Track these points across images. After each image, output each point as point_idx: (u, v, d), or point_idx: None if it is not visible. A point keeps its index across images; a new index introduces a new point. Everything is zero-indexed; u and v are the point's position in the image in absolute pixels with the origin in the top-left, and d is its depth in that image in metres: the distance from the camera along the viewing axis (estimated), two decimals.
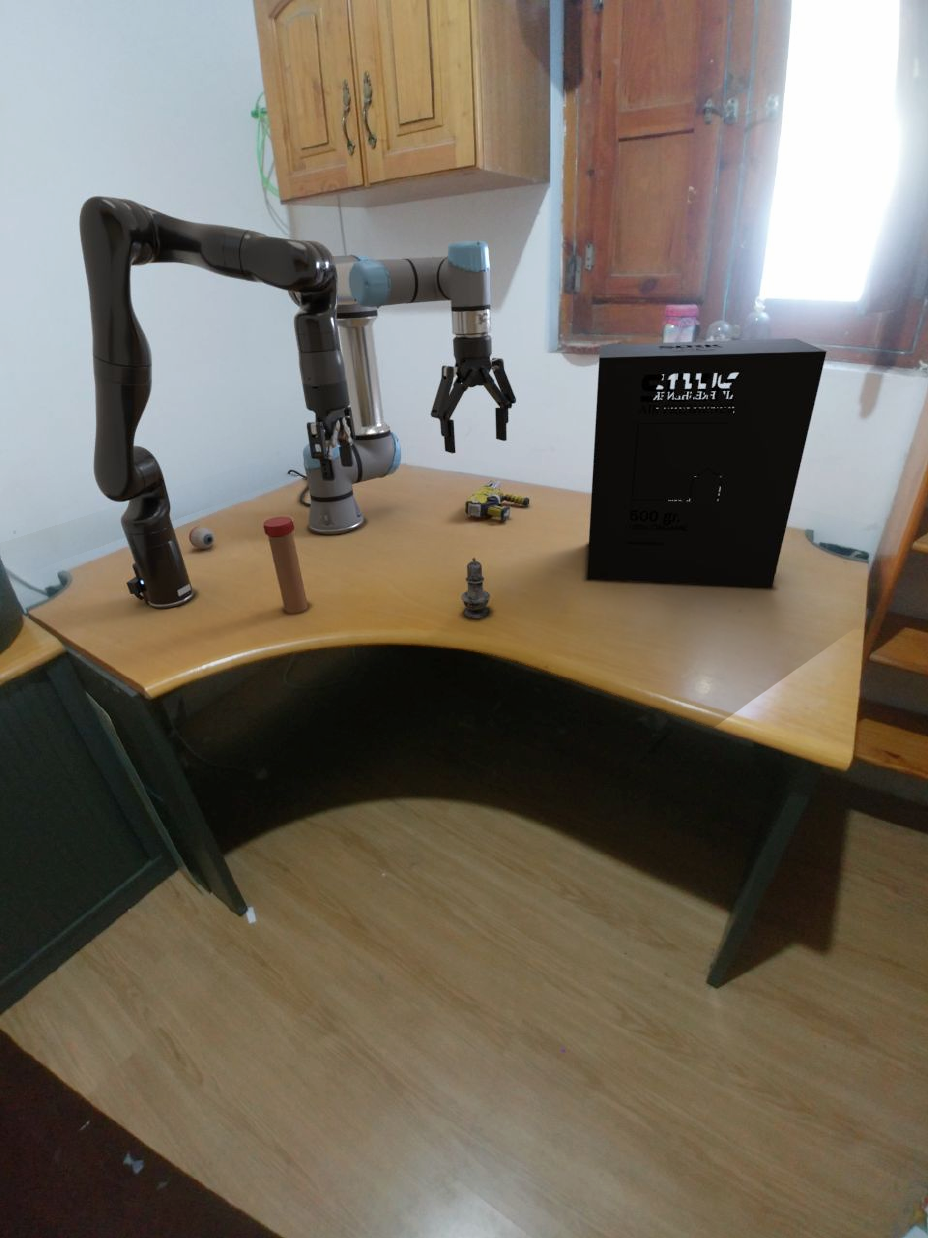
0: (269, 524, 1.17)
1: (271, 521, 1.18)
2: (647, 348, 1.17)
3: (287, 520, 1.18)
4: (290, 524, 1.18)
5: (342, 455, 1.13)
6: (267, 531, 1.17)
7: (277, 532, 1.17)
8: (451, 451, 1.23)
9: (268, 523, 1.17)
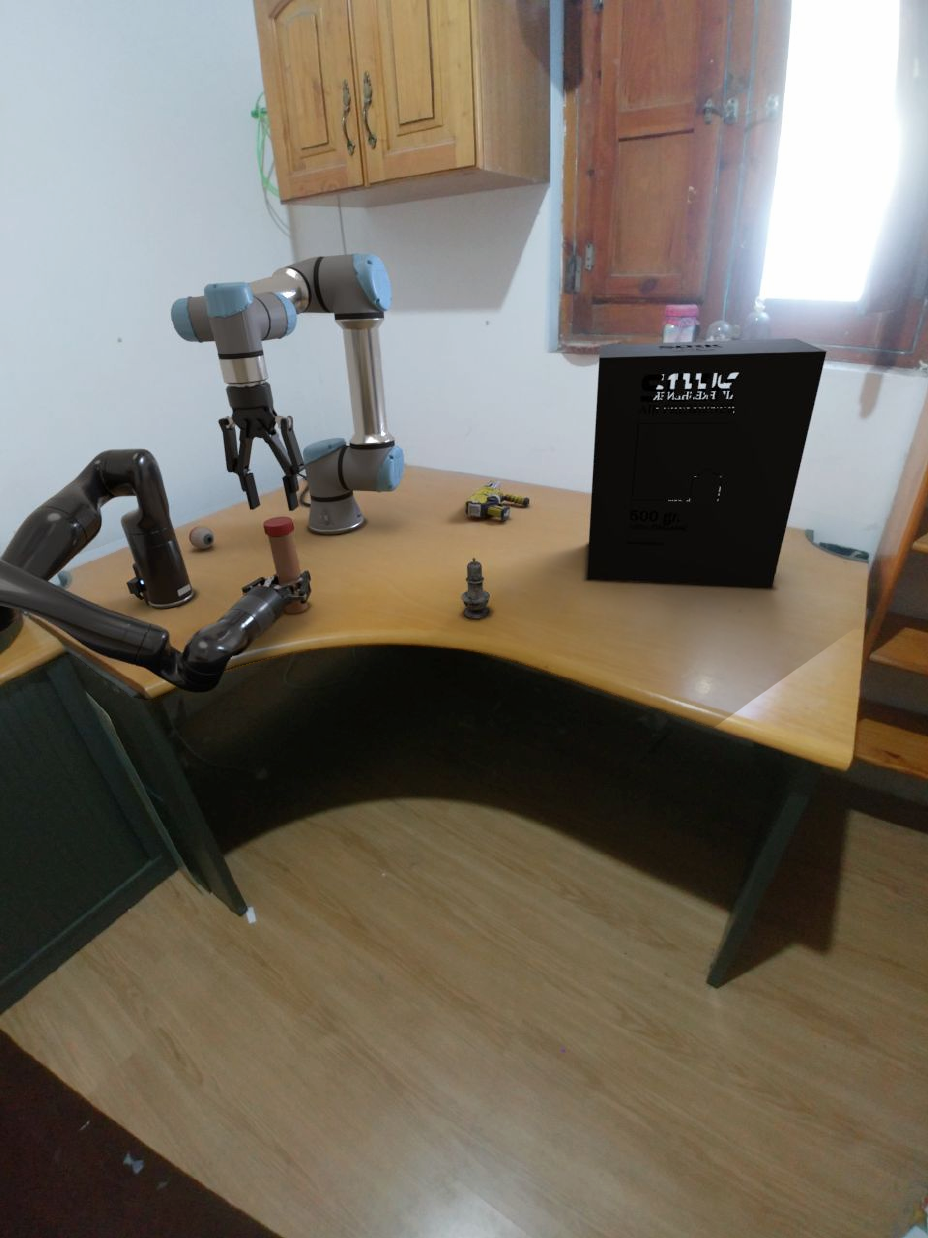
0: (270, 524, 1.17)
1: (271, 521, 1.18)
2: (647, 348, 1.17)
3: (287, 520, 1.18)
4: (290, 524, 1.18)
5: None
6: (267, 531, 1.17)
7: (277, 532, 1.17)
8: (297, 505, 1.17)
9: (268, 523, 1.17)
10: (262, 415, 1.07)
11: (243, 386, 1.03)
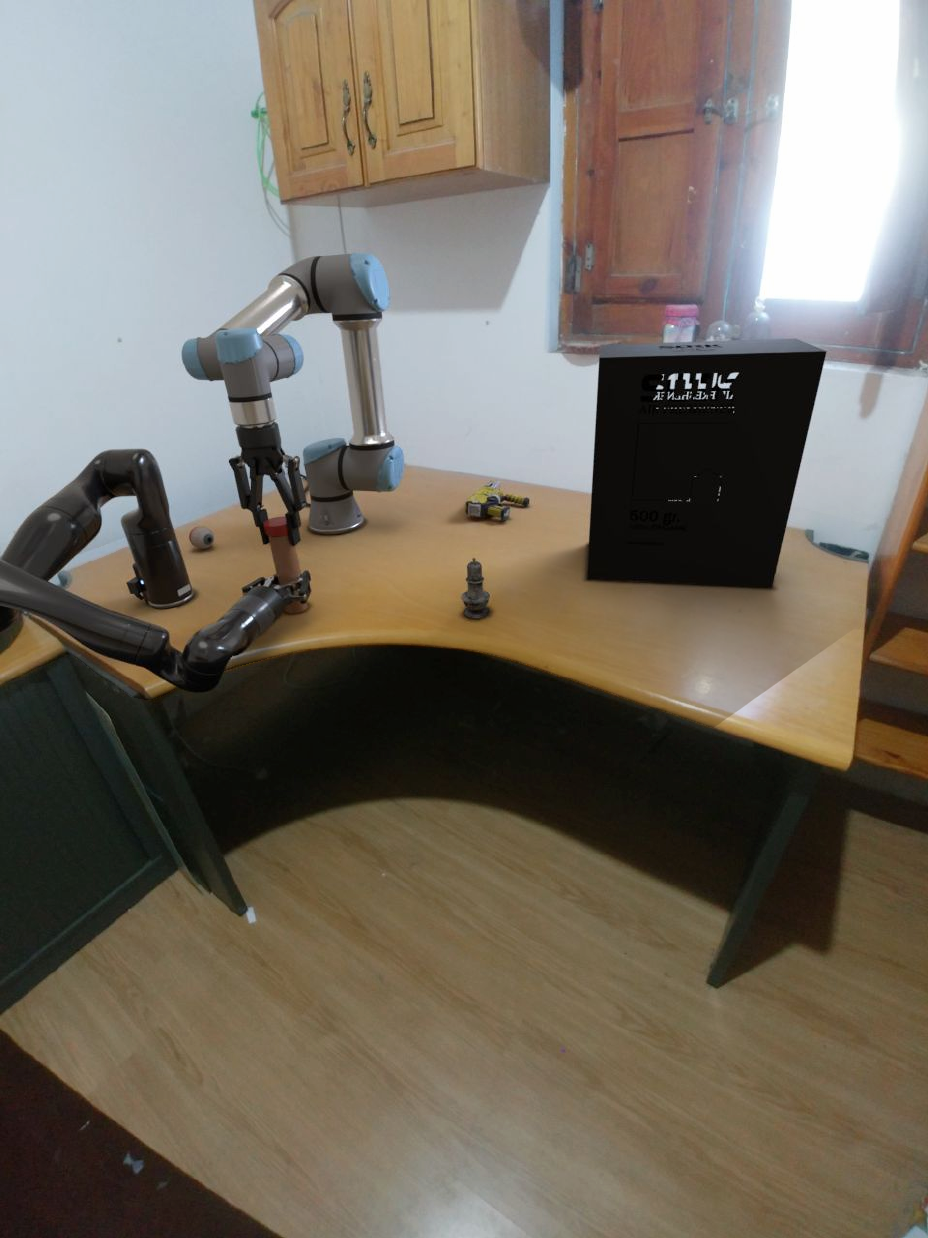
0: (269, 524, 1.17)
1: (271, 521, 1.18)
2: (647, 348, 1.17)
3: None
4: None
5: None
6: (267, 531, 1.17)
7: (277, 532, 1.17)
8: (300, 539, 1.20)
9: (268, 523, 1.17)
10: (271, 454, 1.10)
11: (252, 427, 1.06)
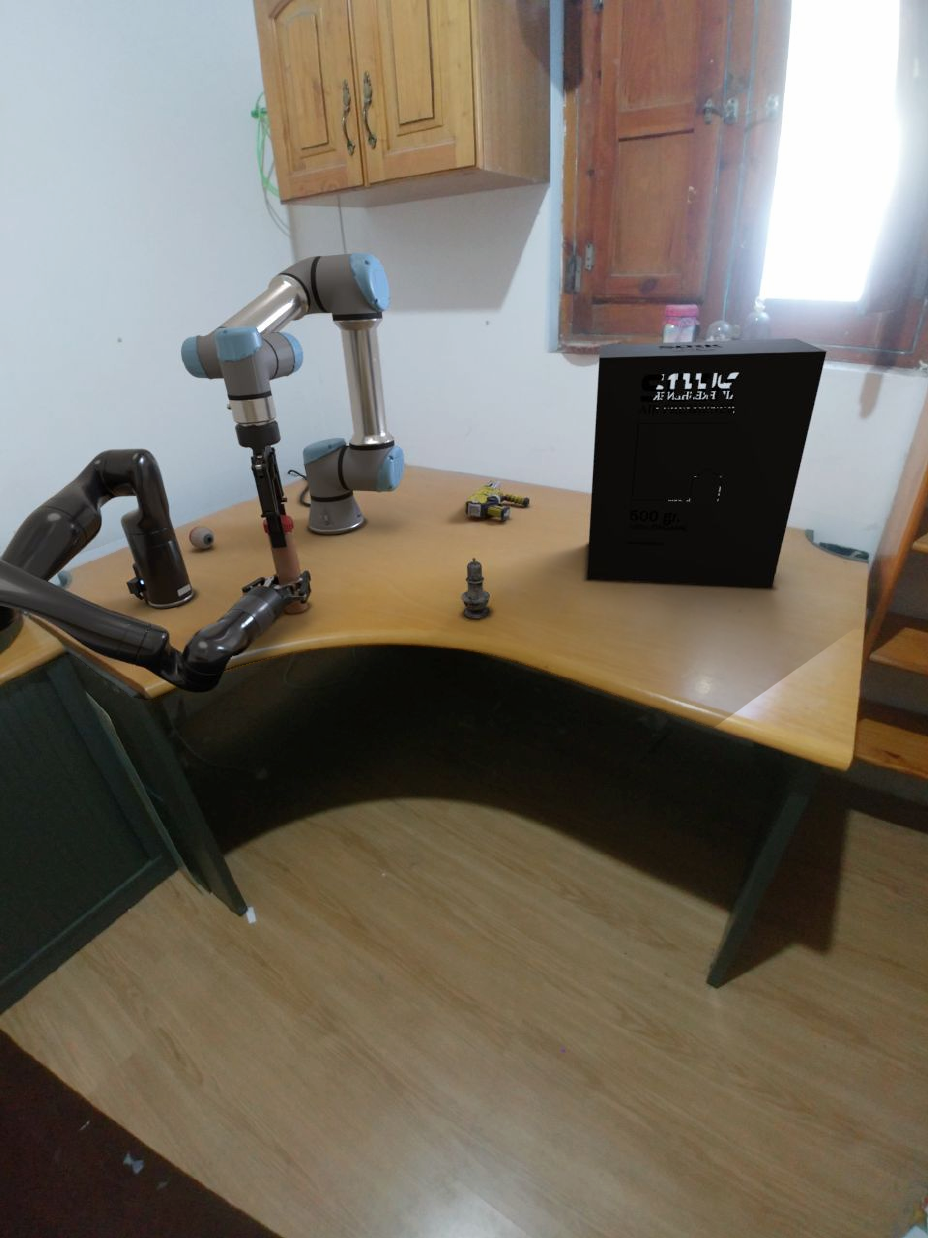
0: (285, 520, 1.18)
1: None
2: (647, 348, 1.17)
3: None
4: None
5: None
6: (291, 525, 1.18)
7: None
8: None
9: (282, 521, 1.17)
10: (269, 447, 1.13)
11: (273, 419, 1.10)
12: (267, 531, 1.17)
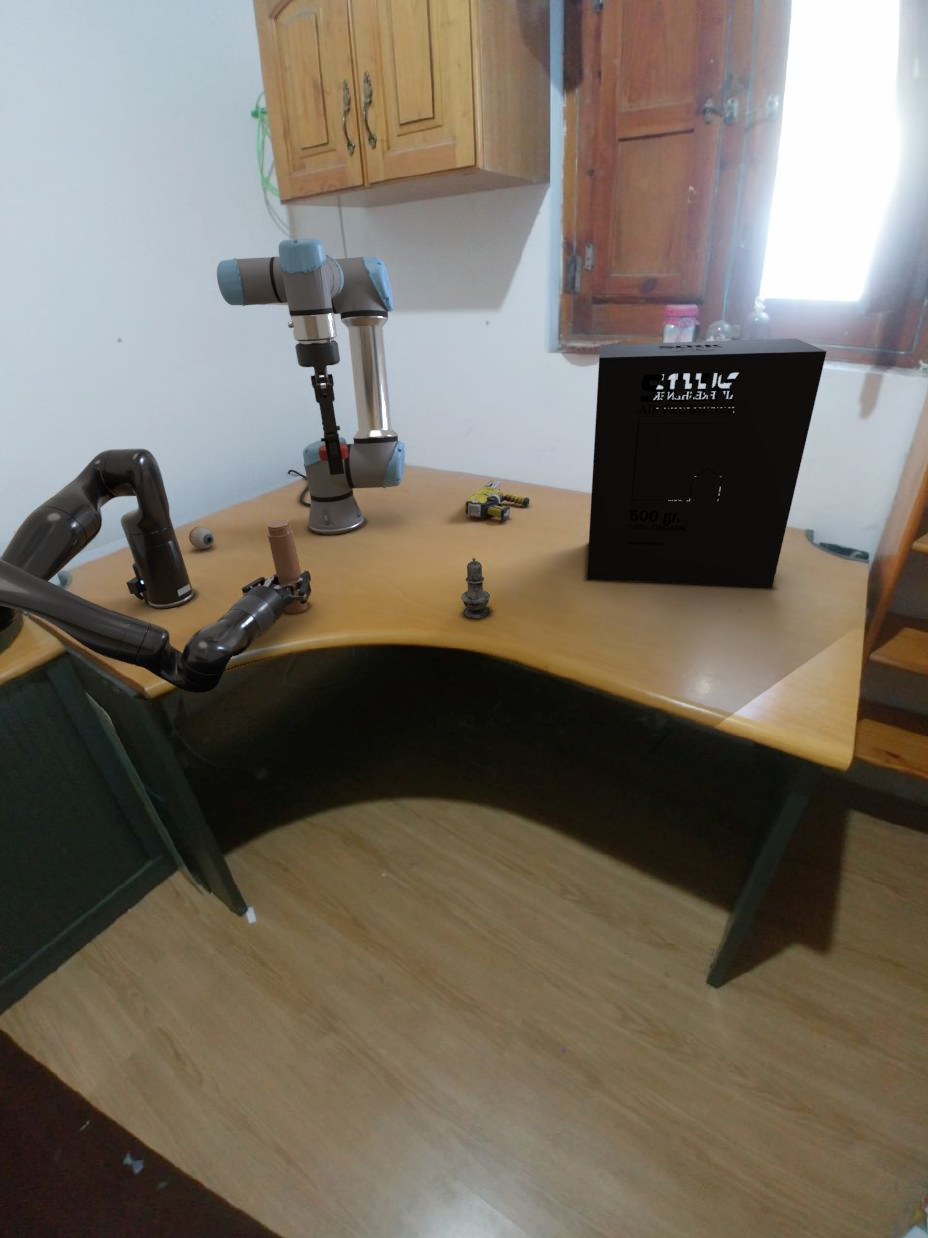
0: (341, 446, 1.17)
1: None
2: (647, 348, 1.17)
3: None
4: None
5: None
6: (347, 452, 1.17)
7: None
8: None
9: None
10: None
11: None
12: (324, 457, 1.16)
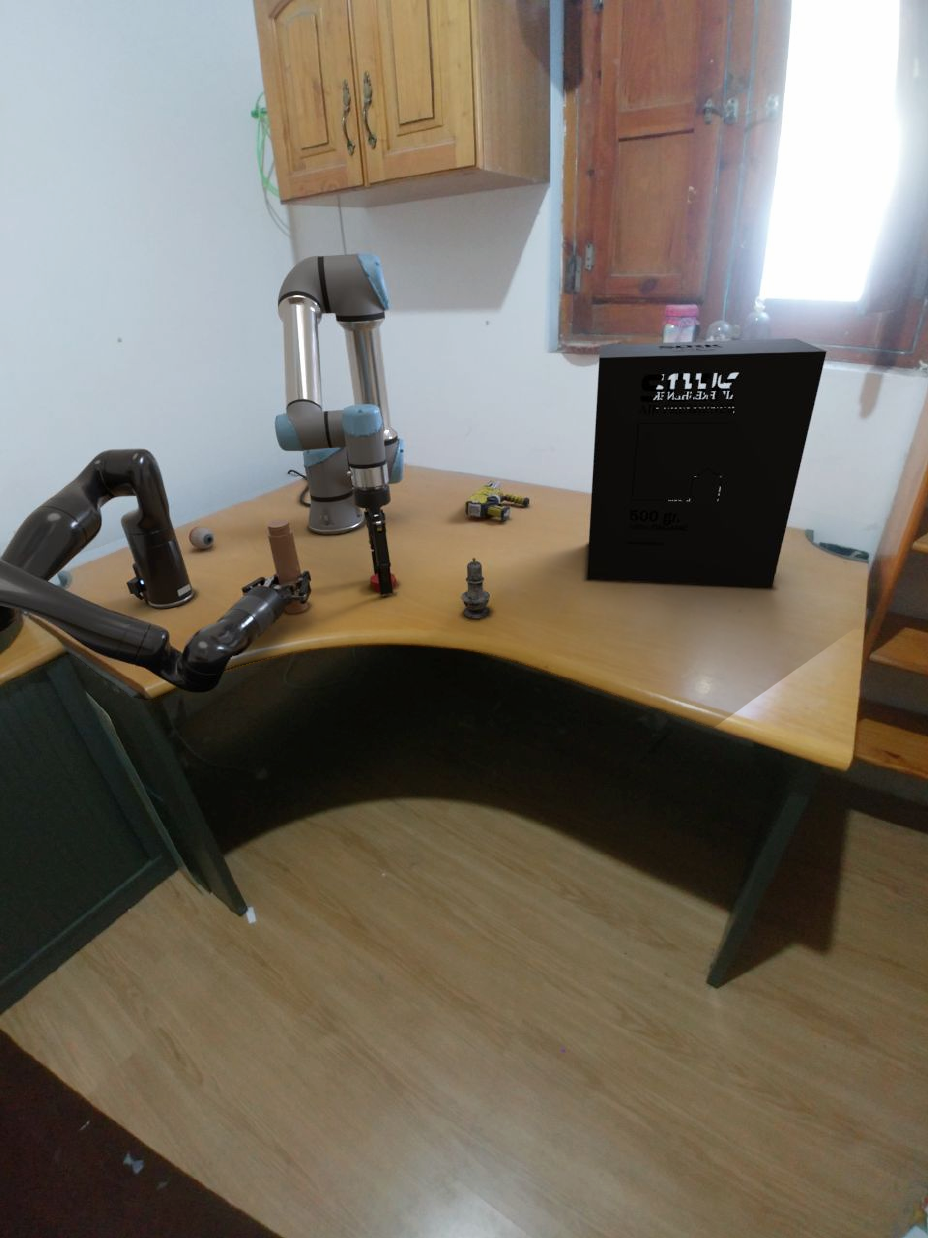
0: None
1: None
2: (647, 348, 1.17)
3: None
4: None
5: None
6: (395, 582, 1.34)
7: None
8: None
9: None
10: None
11: None
12: (376, 588, 1.33)
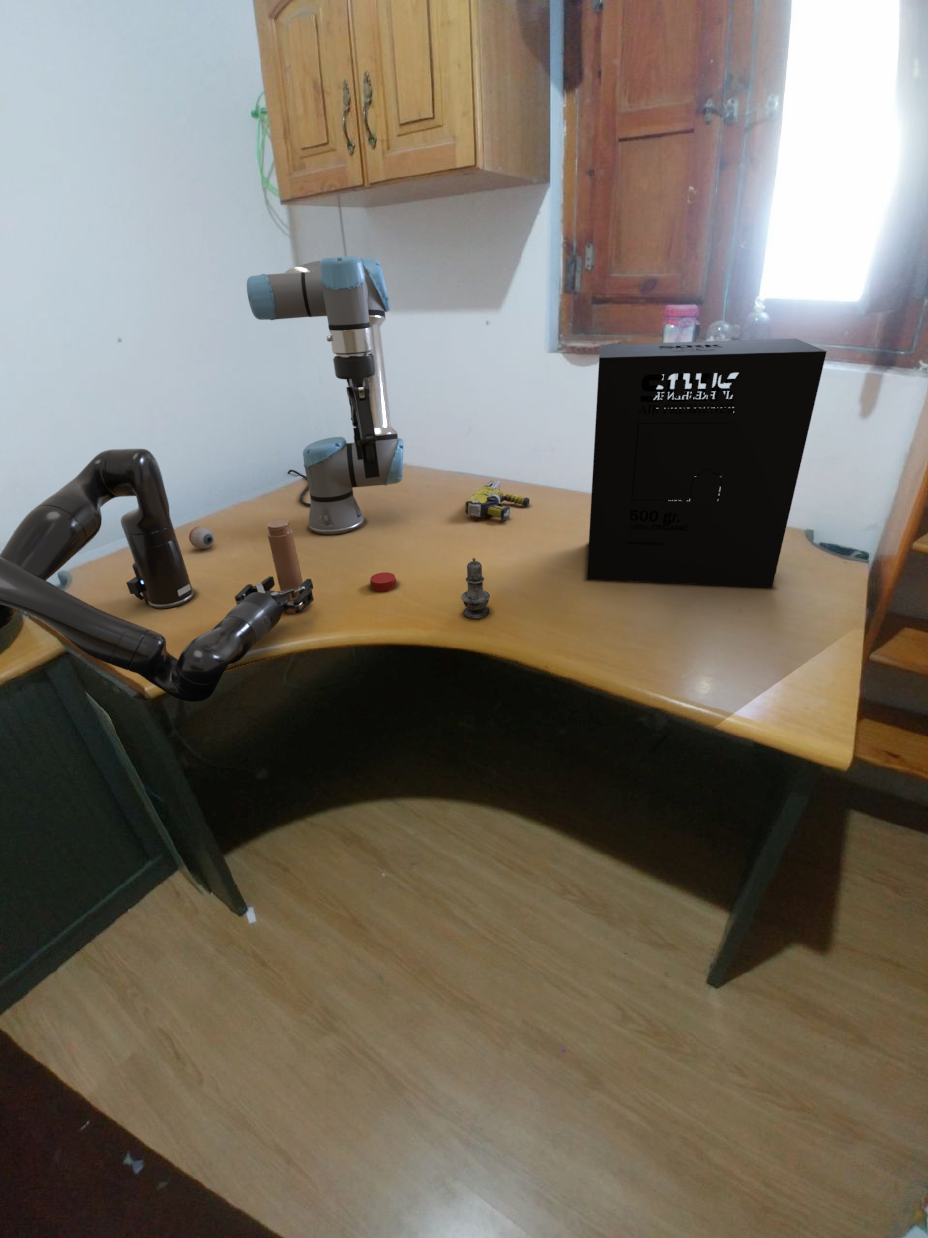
0: (390, 577, 1.34)
1: (384, 579, 1.33)
2: (647, 348, 1.17)
3: (379, 574, 1.35)
4: None
5: (269, 587, 1.24)
6: (395, 582, 1.34)
7: None
8: None
9: (389, 579, 1.33)
10: None
11: None
12: (376, 588, 1.33)
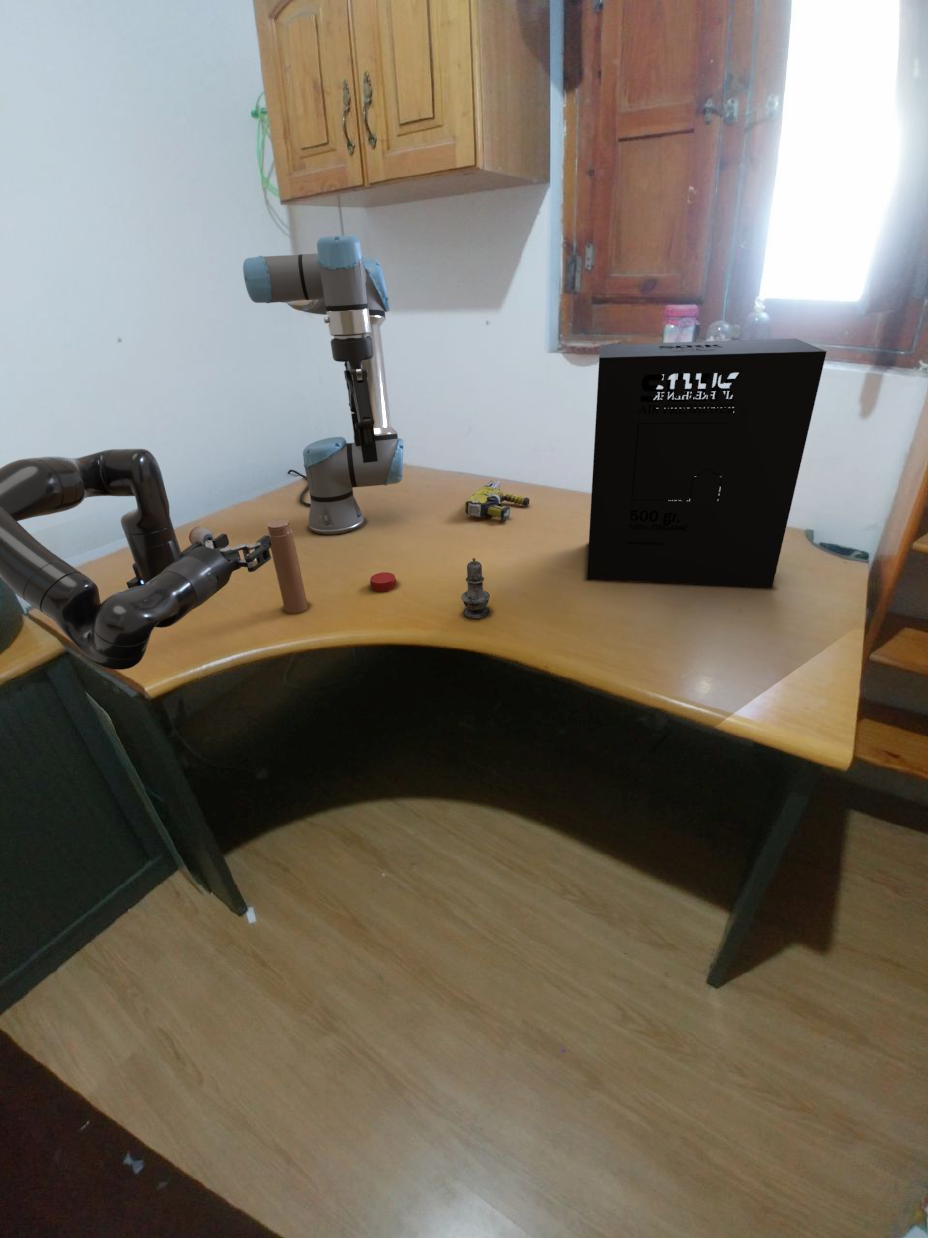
0: (390, 577, 1.34)
1: (384, 579, 1.33)
2: (647, 348, 1.17)
3: (379, 574, 1.35)
4: None
5: (222, 546, 1.08)
6: (395, 582, 1.34)
7: None
8: None
9: (389, 579, 1.33)
10: None
11: None
12: (376, 588, 1.33)
